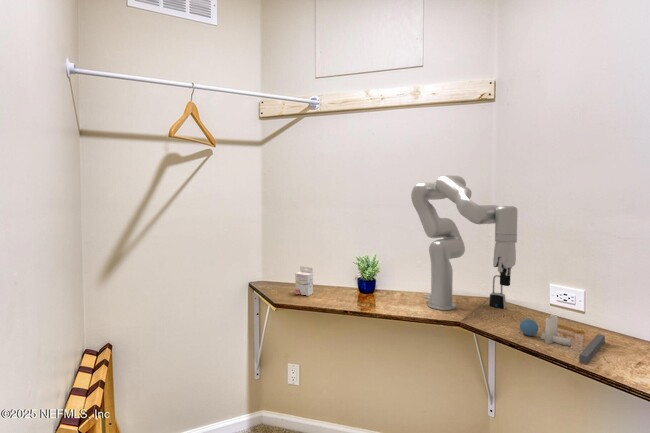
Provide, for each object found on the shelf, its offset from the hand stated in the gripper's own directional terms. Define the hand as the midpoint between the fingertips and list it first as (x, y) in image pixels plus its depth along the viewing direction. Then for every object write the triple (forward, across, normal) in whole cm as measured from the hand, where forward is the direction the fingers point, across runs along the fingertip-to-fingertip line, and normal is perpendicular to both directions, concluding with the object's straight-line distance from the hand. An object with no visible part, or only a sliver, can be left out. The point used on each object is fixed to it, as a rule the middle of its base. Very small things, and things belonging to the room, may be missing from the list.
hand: (504, 285), depth 135 cm
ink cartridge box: (+17, +28, -91) cm, 97 cm away
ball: (+14, 0, +9) cm, 17 cm away
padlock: (+17, -25, -13) cm, 33 cm away
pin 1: (+17, +2, +16) cm, 24 cm away
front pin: (+16, 0, +13) cm, 21 cm away
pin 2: (+17, -2, +16) cm, 24 cm away
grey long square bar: (+17, 0, +28) cm, 33 cm away
